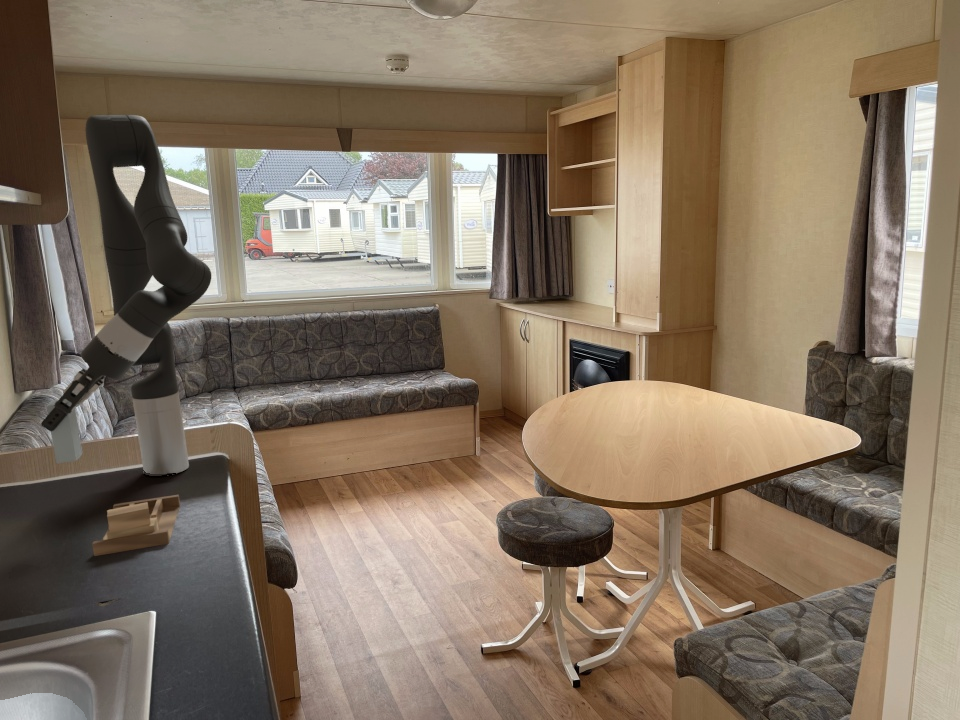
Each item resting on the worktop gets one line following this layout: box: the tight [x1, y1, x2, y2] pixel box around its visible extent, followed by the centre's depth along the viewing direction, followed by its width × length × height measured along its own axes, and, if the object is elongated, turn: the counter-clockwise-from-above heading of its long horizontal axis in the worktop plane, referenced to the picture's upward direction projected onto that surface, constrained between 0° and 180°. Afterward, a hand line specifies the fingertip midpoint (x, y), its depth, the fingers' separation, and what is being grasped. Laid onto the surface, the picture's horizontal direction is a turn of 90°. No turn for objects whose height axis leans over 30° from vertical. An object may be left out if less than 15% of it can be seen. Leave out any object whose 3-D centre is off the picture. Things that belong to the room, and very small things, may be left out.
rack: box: [91, 494, 181, 557], centre depth 123 cm, size 18×11×3 cm, turn 17°
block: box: [46, 399, 83, 464], centre depth 121 cm, size 4×3×10 cm, turn 17°
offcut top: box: [106, 502, 151, 533], centre depth 116 cm, size 3×6×3 cm, turn 117°
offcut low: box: [106, 517, 159, 539], centre depth 117 cm, size 4×7×3 cm, turn 107°
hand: (51, 423), depth 120 cm, fingers closed on block, 4 cm apart
